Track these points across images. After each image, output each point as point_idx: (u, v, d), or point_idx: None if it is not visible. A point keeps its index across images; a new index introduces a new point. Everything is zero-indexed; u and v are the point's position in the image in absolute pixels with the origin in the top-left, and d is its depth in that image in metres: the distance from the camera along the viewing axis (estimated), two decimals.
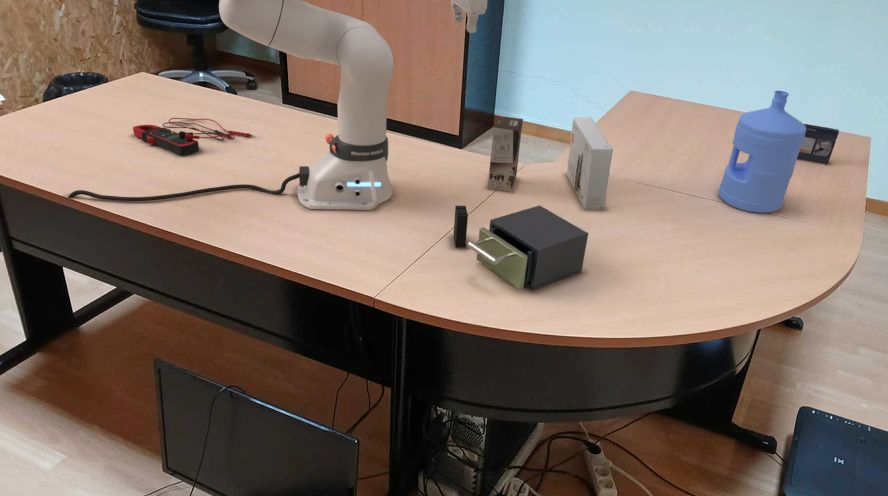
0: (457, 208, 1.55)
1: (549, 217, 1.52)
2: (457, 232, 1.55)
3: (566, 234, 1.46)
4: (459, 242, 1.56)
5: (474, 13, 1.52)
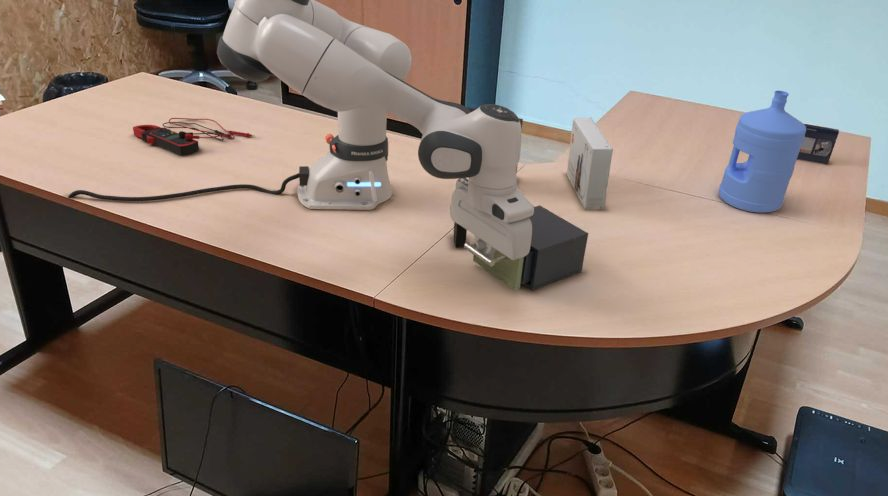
0: None
1: (549, 217, 1.52)
2: (457, 232, 1.55)
3: (566, 234, 1.46)
4: (459, 242, 1.56)
5: (517, 258, 1.33)
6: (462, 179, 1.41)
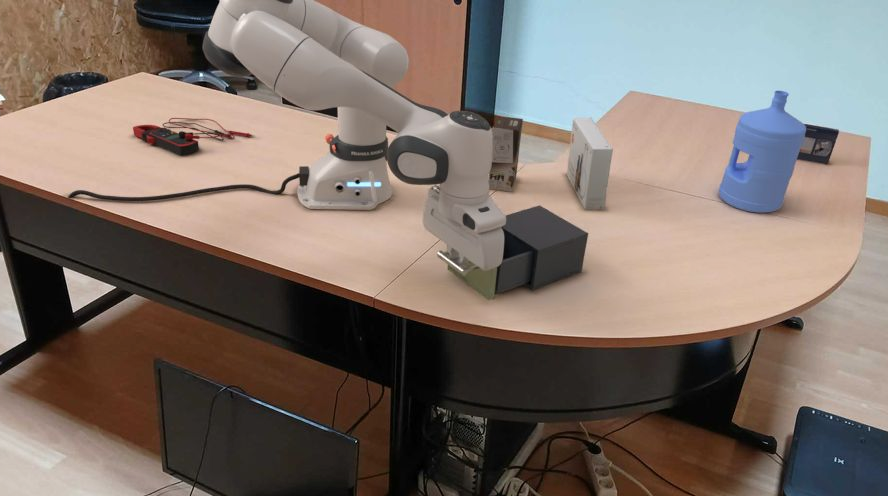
0: None
1: (549, 217, 1.52)
2: None
3: (566, 234, 1.46)
4: None
5: (489, 269, 1.30)
6: (434, 187, 1.37)
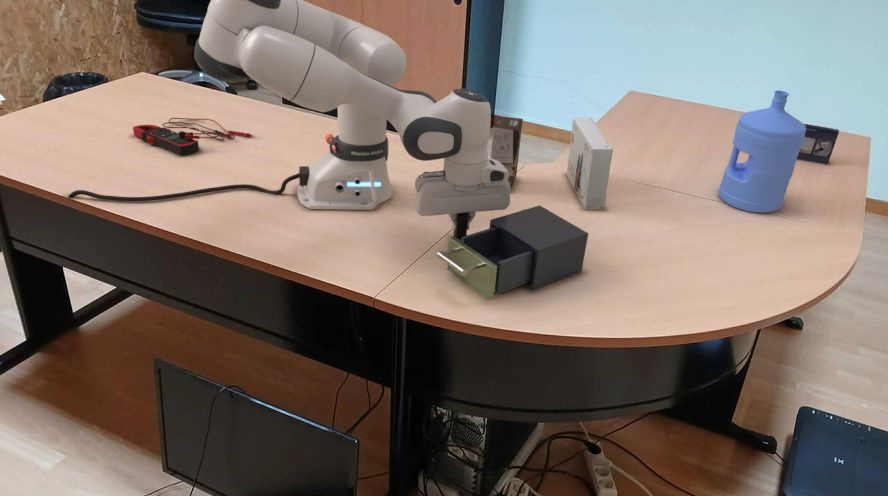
0: None
1: (549, 217, 1.52)
2: (457, 232, 1.55)
3: (566, 234, 1.46)
4: None
5: None
6: (426, 174, 1.47)
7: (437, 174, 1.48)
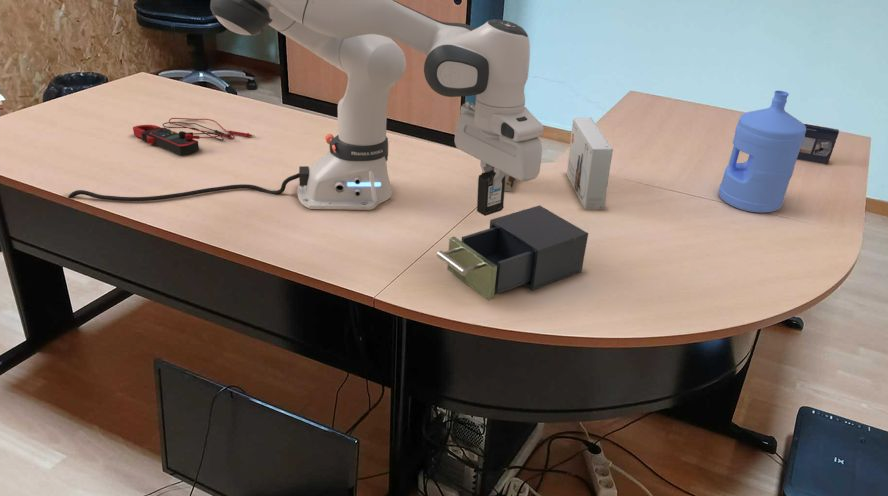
0: (491, 171, 1.39)
1: (549, 217, 1.52)
2: (478, 194, 1.39)
3: (566, 234, 1.46)
4: (479, 207, 1.40)
5: (527, 180, 1.30)
6: (467, 104, 1.37)
7: (474, 108, 1.36)
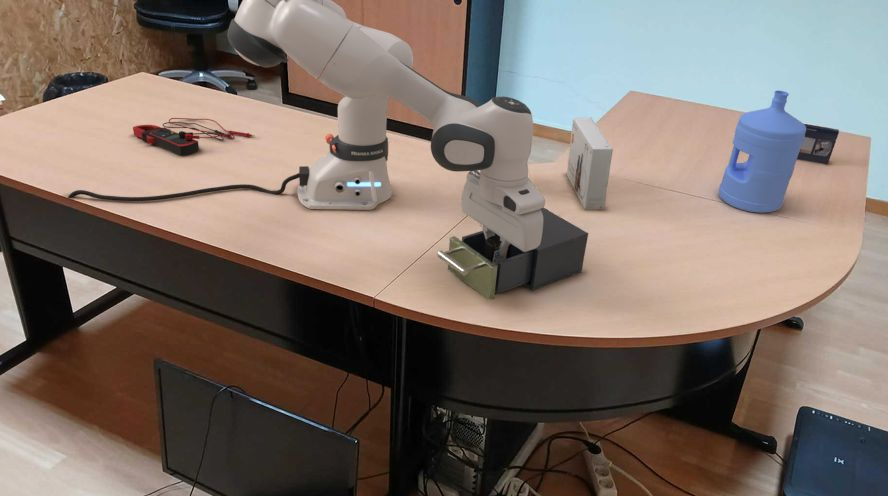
0: None
1: (549, 217, 1.52)
2: None
3: (566, 234, 1.46)
4: None
5: (528, 250, 1.34)
6: (473, 172, 1.41)
7: (480, 177, 1.40)
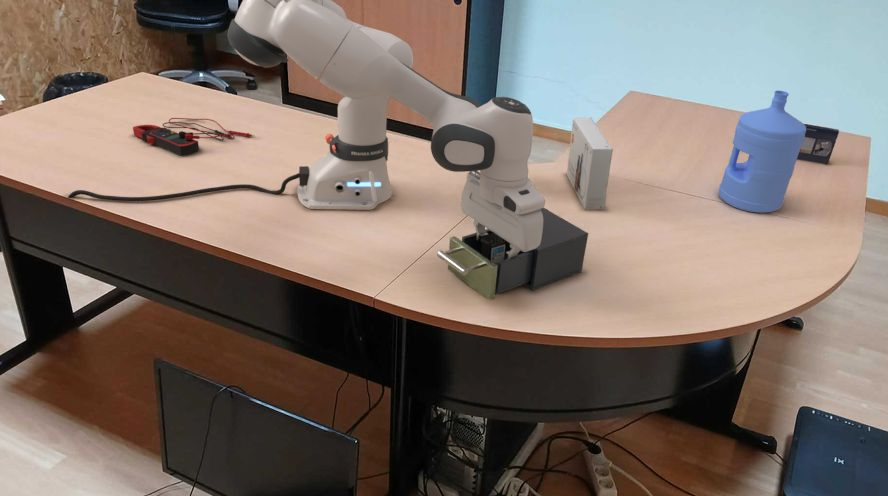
0: None
1: (549, 217, 1.52)
2: None
3: (566, 234, 1.46)
4: None
5: (528, 250, 1.34)
6: (473, 172, 1.41)
7: (480, 177, 1.40)
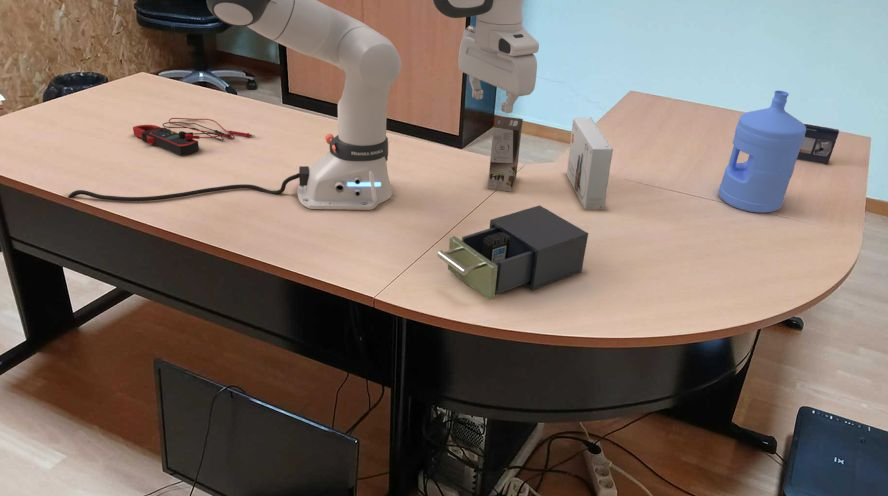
0: (496, 234, 1.42)
1: (549, 217, 1.52)
2: None
3: (566, 234, 1.46)
4: None
5: (523, 94, 1.39)
6: (470, 27, 1.47)
7: (476, 30, 1.45)
